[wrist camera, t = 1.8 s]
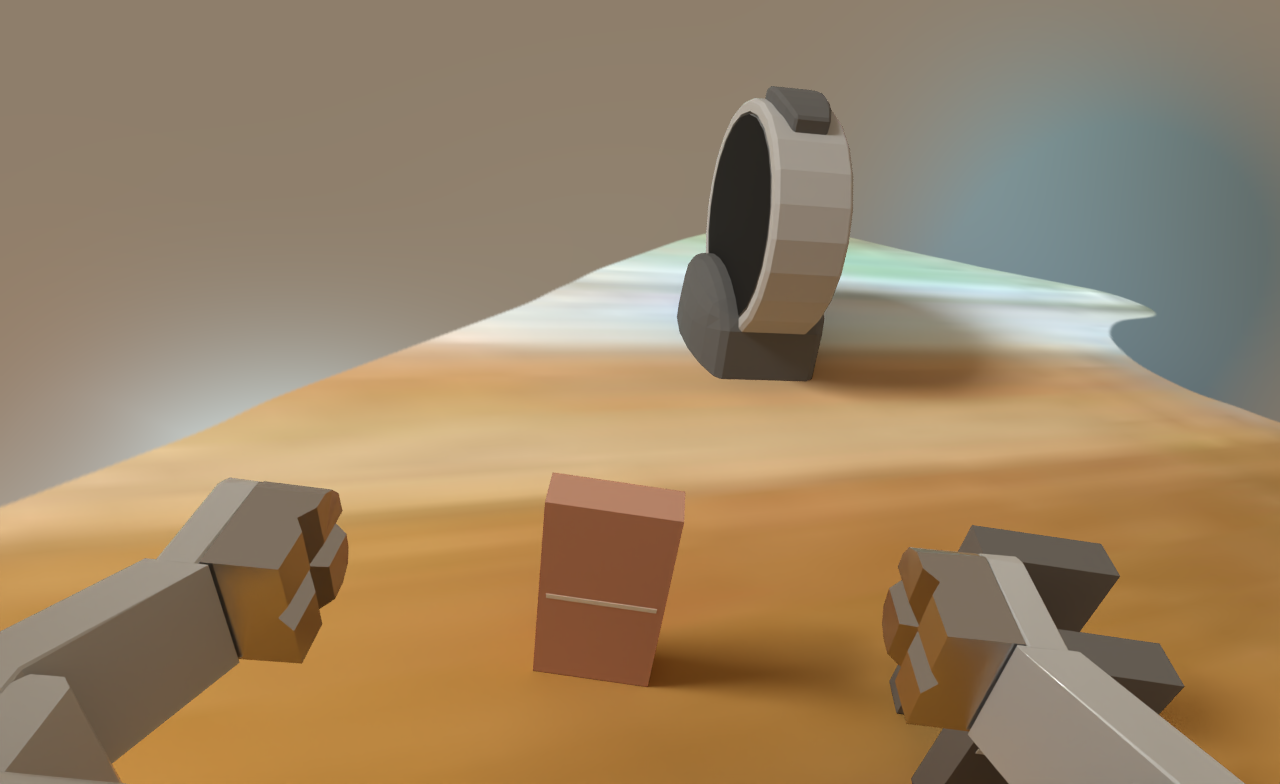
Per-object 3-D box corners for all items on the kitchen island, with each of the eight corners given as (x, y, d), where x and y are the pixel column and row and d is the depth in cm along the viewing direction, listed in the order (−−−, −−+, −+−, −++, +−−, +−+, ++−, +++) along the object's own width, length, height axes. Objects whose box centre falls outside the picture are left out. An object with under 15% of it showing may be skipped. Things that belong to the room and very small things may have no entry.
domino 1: (647, 687, 32) (684, 522, 27) (532, 670, 32) (544, 502, 27) (649, 654, 34) (685, 491, 28) (539, 639, 34) (553, 472, 28)
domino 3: (1046, 837, 29) (1185, 687, 24) (920, 819, 29) (1028, 664, 24) (1032, 795, 31) (1159, 643, 25) (911, 777, 31) (1010, 621, 25)
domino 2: (1008, 729, 33) (1120, 576, 27) (896, 713, 33) (985, 556, 27) (997, 695, 34) (1100, 543, 29) (889, 680, 34) (971, 524, 29)
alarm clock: (663, 282, 64) (699, 55, 54) (776, 288, 66) (832, 69, 56) (700, 393, 51) (757, 121, 41) (839, 396, 53) (928, 137, 43)
